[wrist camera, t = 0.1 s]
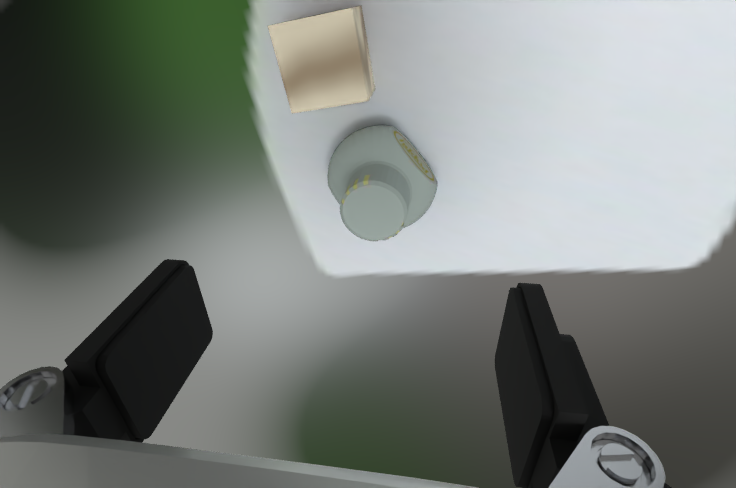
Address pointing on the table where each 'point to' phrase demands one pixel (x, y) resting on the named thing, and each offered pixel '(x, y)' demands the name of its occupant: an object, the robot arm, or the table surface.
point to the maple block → (324, 60)
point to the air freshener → (380, 182)
